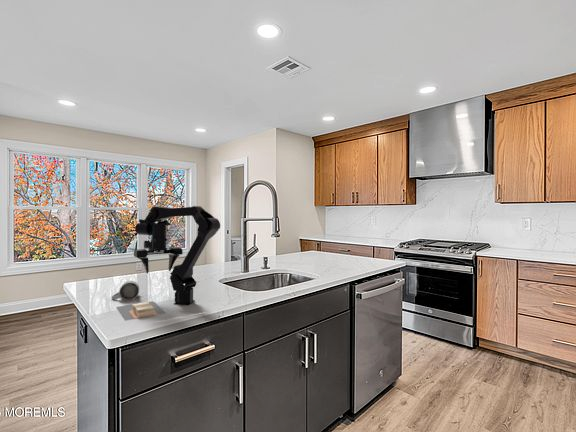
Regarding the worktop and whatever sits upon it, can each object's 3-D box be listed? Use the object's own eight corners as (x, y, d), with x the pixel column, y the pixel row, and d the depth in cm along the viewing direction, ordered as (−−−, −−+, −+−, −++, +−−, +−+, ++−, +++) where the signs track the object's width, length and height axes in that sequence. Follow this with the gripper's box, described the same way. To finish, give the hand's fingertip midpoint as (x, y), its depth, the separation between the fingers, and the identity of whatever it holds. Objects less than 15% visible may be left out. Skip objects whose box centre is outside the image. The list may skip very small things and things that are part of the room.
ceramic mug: (139, 294, 142) (138, 277, 142) (139, 299, 134) (139, 281, 134) (112, 297, 137) (112, 280, 137) (110, 302, 130) (110, 284, 130)
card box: (153, 314, 115) (154, 307, 115) (137, 317, 112) (137, 310, 112) (147, 308, 122) (148, 301, 122) (132, 310, 119) (132, 304, 119)
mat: (153, 302, 131) (153, 300, 131) (166, 313, 117) (166, 312, 117) (115, 307, 123) (115, 306, 123) (125, 321, 109) (125, 320, 109)
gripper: (174, 233, 146) (173, 266, 146) (130, 235, 134) (130, 271, 135) (183, 235, 137) (182, 270, 138) (137, 237, 126) (137, 276, 126)
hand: (158, 272), depth 134 cm, fingers open, 9 cm apart
